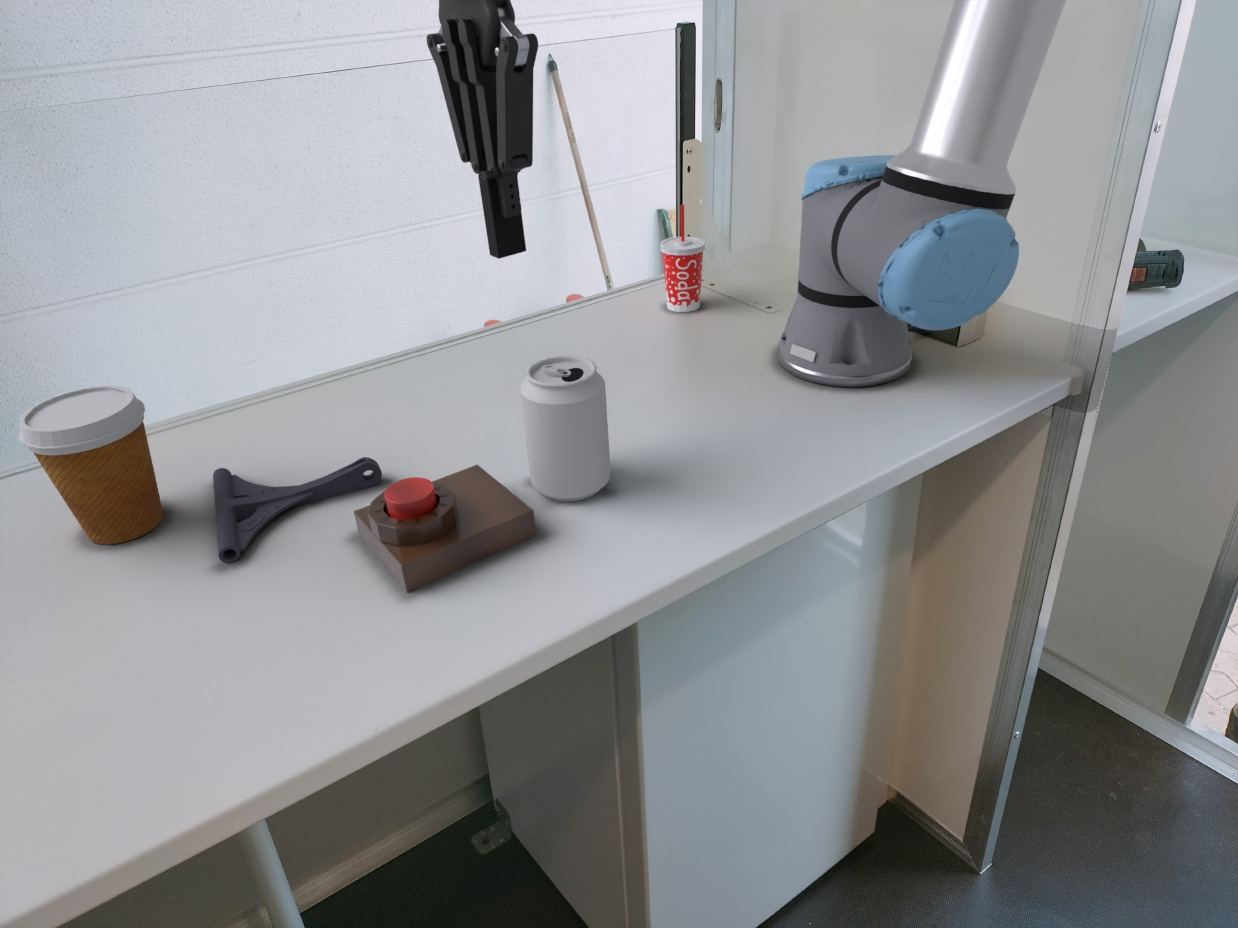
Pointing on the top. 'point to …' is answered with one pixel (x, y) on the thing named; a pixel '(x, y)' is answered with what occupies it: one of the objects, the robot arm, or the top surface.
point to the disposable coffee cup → (97, 459)
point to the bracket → (275, 501)
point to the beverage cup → (683, 270)
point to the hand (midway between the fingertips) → (508, 252)
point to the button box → (447, 528)
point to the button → (410, 498)
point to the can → (566, 427)
